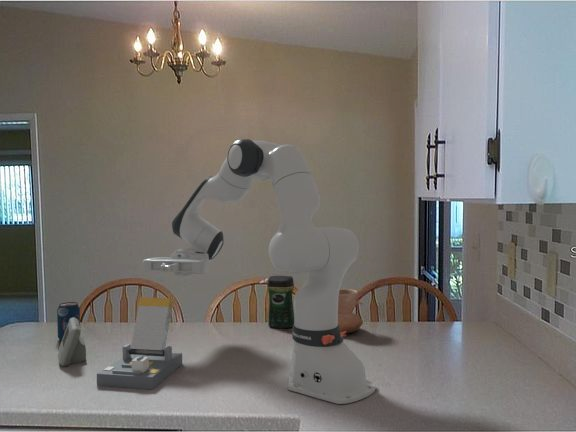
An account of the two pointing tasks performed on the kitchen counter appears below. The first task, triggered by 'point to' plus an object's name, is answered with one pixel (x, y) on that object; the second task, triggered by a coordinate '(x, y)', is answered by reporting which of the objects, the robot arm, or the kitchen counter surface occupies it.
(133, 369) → the slide switch
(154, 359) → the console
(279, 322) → the coffee jar
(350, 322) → the ceramic jug
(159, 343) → the lever
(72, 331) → the digital clock
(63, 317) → the soda can
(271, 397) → the kitchen counter surface
